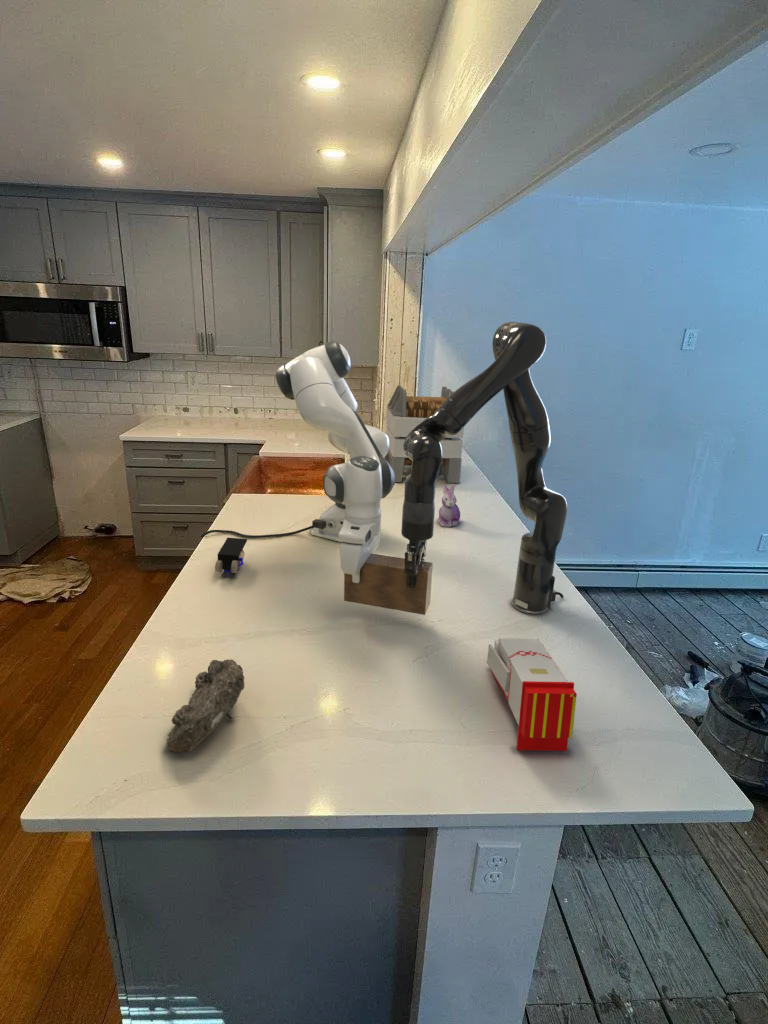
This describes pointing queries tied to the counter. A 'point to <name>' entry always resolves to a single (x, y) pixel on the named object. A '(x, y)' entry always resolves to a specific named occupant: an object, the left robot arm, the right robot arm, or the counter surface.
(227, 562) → the black wheeled rover
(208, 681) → the fossil
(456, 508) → the figurine
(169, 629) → the counter surface
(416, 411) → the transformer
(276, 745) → the counter surface
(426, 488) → the right robot arm
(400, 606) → the box
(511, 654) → the toy
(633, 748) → the counter surface
